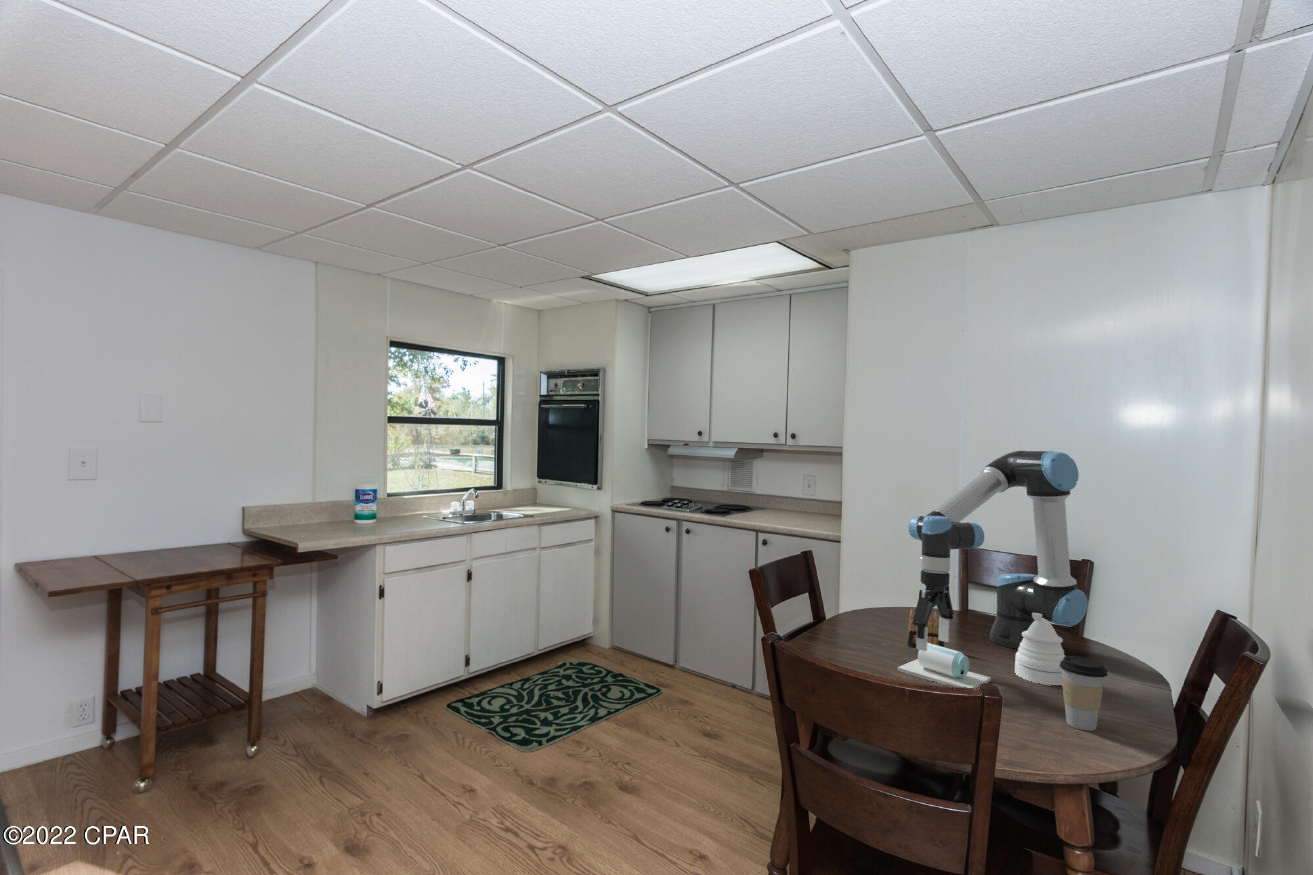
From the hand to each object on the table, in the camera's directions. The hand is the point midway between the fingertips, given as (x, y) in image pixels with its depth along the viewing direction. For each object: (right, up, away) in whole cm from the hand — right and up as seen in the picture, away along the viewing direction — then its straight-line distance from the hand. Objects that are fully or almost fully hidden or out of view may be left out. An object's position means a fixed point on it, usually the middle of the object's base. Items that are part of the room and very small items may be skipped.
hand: (932, 645), depth 182 cm
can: (-2, -3, +2) cm, 4 cm away
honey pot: (+30, -9, -1) cm, 32 cm away
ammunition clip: (+8, -8, +23) cm, 26 cm away
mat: (+2, -8, -2) cm, 8 cm away
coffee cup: (+21, -8, -32) cm, 39 cm away
